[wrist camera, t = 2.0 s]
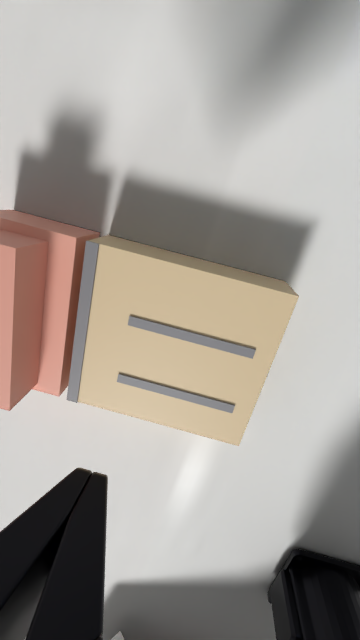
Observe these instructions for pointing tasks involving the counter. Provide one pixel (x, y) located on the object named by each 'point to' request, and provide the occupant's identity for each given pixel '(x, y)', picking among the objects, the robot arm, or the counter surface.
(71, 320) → the pink stepped block
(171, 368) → the beige slotted tile
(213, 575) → the counter surface
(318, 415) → the counter surface
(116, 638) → the pizza boxes
